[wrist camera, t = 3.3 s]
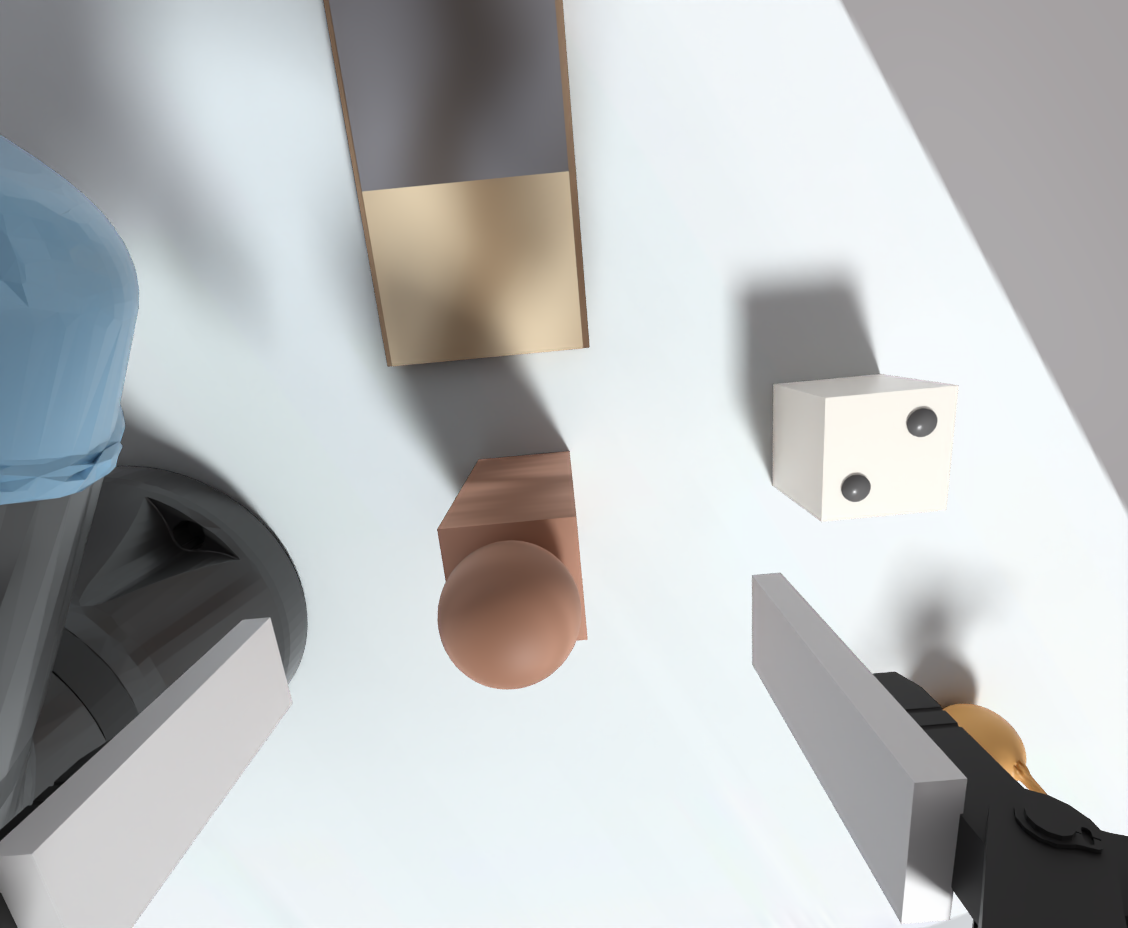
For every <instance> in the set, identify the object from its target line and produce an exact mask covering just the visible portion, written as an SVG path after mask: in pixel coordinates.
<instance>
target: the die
mask: <svg viewBox="0 0 1128 928" xmlns="http://www.w3.org/2000/svg"><path fill="white" fill-rule="evenodd" d="M958 387H959V385H953V384H946V383H939V382H932V381H925V380H919V379H912V378H905V377H898V376H891V375H884V374H874V375H863V376H853V377H842V378H832V379H821V380H811V381H800V382H790V383H779V384H773V481H772V486H774V487H775V488H776V489H778V490H779V491H780V492H782V493H783V494H784V495H786V496H787V497H788V498H790V499H791V500H792V501H794V502H795V503H797V504H798V505H799V506H801V507H802V508H803V509H805V510H806V511H807V512H809V513H810V514H811V515H813V516H814V517H816V518H817V519H818V520H820V521H821V522H824V521H835V520H846V519H857V518H868V517H879V516H889V515H900V514H911V513H922V512H933V511H944V510H946V508H947V498H948V488H949V478H950V468H951V457H952V447H953V437H954V427H955V417H956V407H957V397H958Z"/></svg>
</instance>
